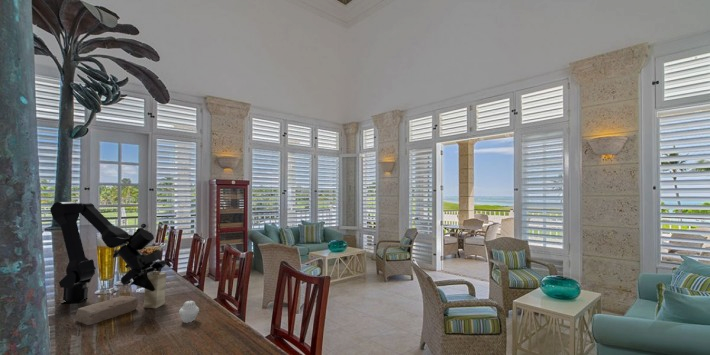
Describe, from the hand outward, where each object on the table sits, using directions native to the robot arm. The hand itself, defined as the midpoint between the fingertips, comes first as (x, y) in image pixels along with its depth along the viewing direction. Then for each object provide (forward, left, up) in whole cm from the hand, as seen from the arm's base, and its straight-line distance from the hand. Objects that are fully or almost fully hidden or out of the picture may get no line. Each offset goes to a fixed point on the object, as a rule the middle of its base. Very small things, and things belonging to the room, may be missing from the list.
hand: (158, 288), depth 130 cm
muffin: (+15, -18, -7) cm, 24 cm away
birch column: (-1, 0, -7) cm, 7 cm away
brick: (-14, -7, -7) cm, 17 cm away
